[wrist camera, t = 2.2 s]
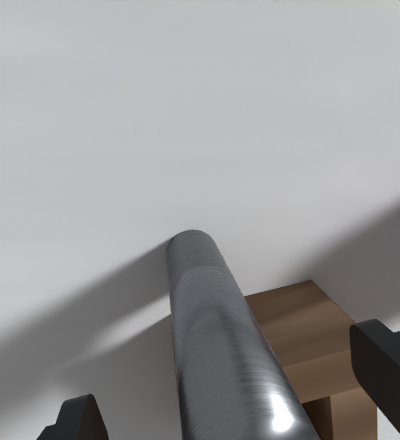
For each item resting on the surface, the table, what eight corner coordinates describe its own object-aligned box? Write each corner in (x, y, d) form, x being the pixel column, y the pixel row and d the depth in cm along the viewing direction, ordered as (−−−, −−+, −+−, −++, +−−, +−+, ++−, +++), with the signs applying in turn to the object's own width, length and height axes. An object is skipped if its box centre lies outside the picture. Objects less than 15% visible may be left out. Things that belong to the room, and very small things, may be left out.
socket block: (170, 314, 19) (177, 395, 13) (311, 280, 20) (375, 342, 14) (198, 424, 22) (213, 530, 16) (320, 390, 22) (378, 481, 17)
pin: (160, 236, 17) (173, 440, 6) (212, 224, 18) (319, 399, 6) (171, 283, 18) (201, 538, 7) (221, 271, 19) (328, 499, 7)
